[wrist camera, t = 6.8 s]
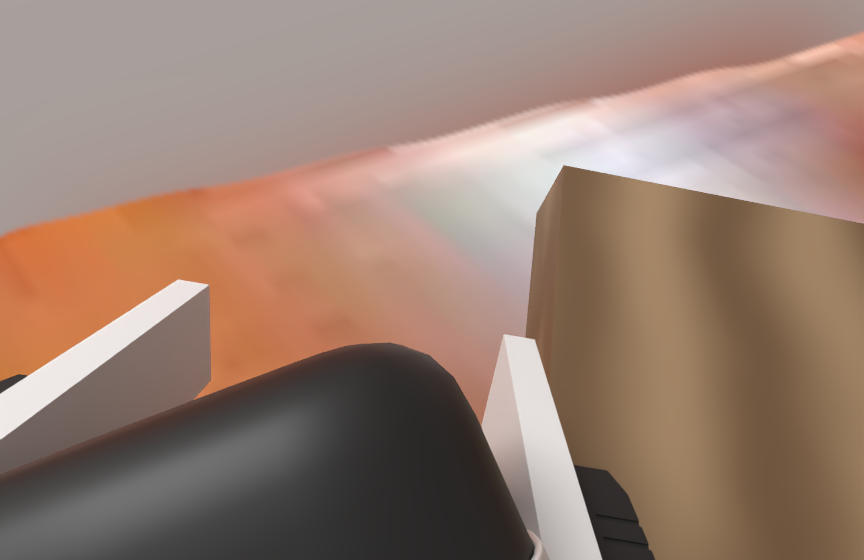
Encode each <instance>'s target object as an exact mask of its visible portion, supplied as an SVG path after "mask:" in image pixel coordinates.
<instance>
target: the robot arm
mask: <svg viewBox="0 0 864 560" xmlns="http://www.w3.org/2000/svg"><path fill="white" fill-rule="evenodd" d="M210 381H211V350H210V298H209V285H207V284H201V283H195V282H189V281H183V280H177V281H175V282H174V283H172V284H171V285H169V286H167V287H166V288H164V289H163V290H161V291H160V292H158V293H157V294H155V295H153V296H152V297H150V298H149V299H147V300H146V301H144V302H142V303H141V304H139V305H138V306H136V307H135V308H133V309H132V310H130V311H128V312H127V313H125V314H124V315H122V316H121V317H119V318H118V319H116V320H114V321H113V322H111V323H110V324H108V325H107V326H105V327H104V328H102V329H100V330H99V331H97V332H96V333H94V334H93V335H91V336H89V337H88V338H86V339H85V340H83V341H82V342H80V343H79V344H77V345H75V346H74V347H72V348H71V349H69V350H68V351H66V352H65V353H63V354H61V355H60V356H58V357H57V358H55V359H54V360H52V361H51V362H49V363H47V364H46V365H44V366H43V367H41V368H40V369H38V370H36V371H35V372H33V373H32V374H30V375H29V376H26V375H20V374H18V375H16V376H13V377H10V378H8V379H5V380H2V381H0V474H2V473H4V472H7V471H9V470H12V469H14V468H17V467H20V466H22V465H25V464H27V463H30V462H33V461H35V460H38V459H40V458H43V457H46V456H48V455H51V454H53V453H56V452H59V451H61V450H64V449H66V448H69V447H72V446H74V445H77V444H79V443H82V442H84V441H87V440H90V439H92V438H95V437H97V436H100V435H103V434H105V433H108V432H110V431H113V430H116V429H118V428H121V427H124V426H126V425H129V424H132V423H134V422H137V421H140V420H142V419H145V418H148V417H150V416H153V415H156V414H158V413H161V412H164V411H166V410H169V409H172V408H174V407H177V406H180V405H182V404H185V403H188V402H190V401H193V400H194V399H195V397H196V396H197V395H198V394H199V393H200V392H201V391H202V390H203V388H204V387H205V386H206V385H207V384H208V383H209V382H210ZM482 431H483V433H484V435H485V437H486V440H487V442H488V444H489V446H490V449H491V451H492V453H493V455H494V458H495V460H496V462H497V464H498V467H499V469H500V471H501V473H502V476H503V478H504V480H505V482H506V485H507V487H508V489H509V491H510V494H511V496H512V498H513V500H514V502H515V505H516V507H517V509H518V511H519V514H520V516H521V518H522V520H523V523H524V525H525V527H526V529H528V530H530V531H532V532H534V534H535V535H536V536H537V537H538V538H539V539H540V540H541V542H542V544H543V545H544V548H545V550H546V552H547V554H548V556H549V559H550V560H655V557H654V555H653V553H652V550H649V543H648V541H647V538H646V536H645V534H644V531H643V529H642V527H640V526H639V520H638V517H637V515H636V512H635V510H634V508H633V505H632V503H631V501H630V498H629V496H628V494H627V493H626V492H625V491H624V489H623V488H622V487H621V486H620V485H619V483H618V482H617V481H616V480H615V479H614V478H613V476H612V475H611V474H610V473H609V472H608V471H607V470H601V469H595V468H590V467H584V466H578V465H573V463H572V459H571V456H570V453H569V450H568V446H567V443H566V440H565V437H564V433H563V430H562V427H561V424H560V420H559V417H558V414H557V411H556V407H555V404H554V401H553V398H552V394H551V391H550V388H549V385H548V381H547V378H546V375H545V372H544V368H543V365H542V362H541V359H540V355H539V352H538V349H537V346H536V342H535V339H529V338H523V337H517V336H511V335H505V334H504V335H503V339H502V344H501V348H500V352H499V356H498V360H497V364H496V368H495V372H494V377H493V381H492V385H491V389H490V393H489V397H488V401H487V405H486V410H485V414H484V418H483V422H482Z"/></svg>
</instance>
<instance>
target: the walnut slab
mask: <svg viewBox="0 0 864 560" xmlns="http://www.w3.org/2000/svg"><path fill="white" fill-rule="evenodd" d="M525 338H529V339H535V342H536V346H537V349H538V352H539V355H540V359H541V362H542V365H543V368H544V372H545V375H546V378H547V381H548V385H549V388H550V391H551V394H552V398H553V401H554V404H555V407H556V411H557V414H558V417H559V420H560V424H561V427H562V430H563V433H564V437H565V440H566V443H567V446H568V450H569V453H570V456H571V459H572V463H573V465H578V466H584V467H590V468H595V469H601V470H607V471H608V472H609V473H610V474H611V475H612V476H613V478H614V479H615V480H616V481H617V482H618V483H619V485H620V486H621V487H622V488H623V489H624V491H625V492H626V493H627V494H628V496H629V498H630V501H631V503H632V505H633V508H634V510H635V512H636V515H637V517H638V520H639V526H640V527H642V529H643V531H644V534H645V536H646V538H647V541H648V543H649V550H652V553H653V555H654V557H655V560H864V224H862V223H856V222H851V221H846V220H841V219H836V218H831V217H826V216H821V215H815V214H810V213H805V212H800V211H795V210H790V209H785V208H780V207H774V206H769V205H764V204H759V203H754V202H749V201H744V200H739V199H734V198H728V197H723V196H718V195H713V194H708V193H703V192H698V191H693V190H687V189H682V188H677V187H672V186H667V185H662V184H657V183H652V182H646V181H641V180H636V179H631V178H626V177H621V176H616V175H611V174H606V173H600V172H595V171H590V170H585V169H580V168H575V167H570V166H565V165H564V166H563V168H562V169H561V171H560V173H559V175H558V176H557V178H556V180H555V182H554V184H553V185H552V187H551V189H550V191H549V193H548V194H547V196H546V198H545V200H544V201H543V203H542V205H541V207H540V209H539V210H538V212H537V216H536V227H535V238H534V249H533V260H532V271H531V282H530V293H529V304H528V315H527V326H526V337H525Z"/></svg>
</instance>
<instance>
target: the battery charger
mask: <svg viewBox="0 0 864 560" xmlns="http://www.w3.org/2000/svg"><path fill="white" fill-rule="evenodd" d="M0 560H550V559H549V556H548V554H547V552H546V550H545V548H544V545H543V544H542V542H541V540H540V539H539V538H538V537H537V536H536V535H535V534H534V532H532V531H530V530H528V529H526V527H525V525H524V523H523V520H522V518H521V516H520V514H519V511H518V509H517V507H516V505H515V502H514V500H513V498H512V496H511V494H510V491H509V489H508V487H507V485H506V482H505V480H504V478H503V476H502V473H501V471H500V469H499V467H498V464H497V462H496V460H495V458H494V455H493V453H492V451H491V449H490V446H489V444H488V442H487V440H486V437H485V435H484V433H483V431H482V428H481V426H480V424H479V422H478V419H477V417H476V415H475V413H474V411H473V410H472V408H471V406H470V404H469V403H468V401H467V399H466V398H465V396H464V394H463V392H462V391H461V389H460V387H459V385H458V384H457V382H456V380H455V378H454V377H453V376H452V375H451V374H450V373H448V372H447V371H446V370H445V369H444V368H443V367H442V366H441V365H440V364H438V363H437V362H436V361H435V360H434V359H433V358H432V357H431V356H430V355H427V354H424V353H422V352H419V351H416V350H413V349H411V348H408V347H405V346H402V345H398V344H393V343H373V344H357V345H350V346H344V347H341V348H337V349H334V350H330V351H327V352H323V353H320V354H317V355H314V356H312V357H309V358H306V359H303V360H300V361H298V362H295V363H292V364H289V365H287V366H284V367H281V368H279V369H276V370H273V371H271V372H268V373H265V374H263V375H260V376H257V377H255V378H252V379H249V380H247V381H244V382H241V383H239V384H236V385H233V386H230V387H228V388H225V389H222V390H220V391H217V392H214V393H212V394H209V395H206V396H204V397H201V398H198V399H196V400H193V401H190V402H188V403H185V404H182V405H180V406H177V407H174V408H172V409H169V410H166V411H164V412H161V413H158V414H156V415H153V416H150V417H148V418H145V419H142V420H140V421H137V422H134V423H132V424H129V425H126V426H124V427H121V428H118V429H116V430H113V431H110V432H108V433H105V434H103V435H100V436H97V437H95V438H92V439H90V440H87V441H84V442H82V443H79V444H77V445H74V446H72V447H69V448H66V449H64V450H61V451H59V452H56V453H53V454H51V455H48V456H46V457H43V458H40V459H38V460H35V461H33V462H30V463H27V464H25V465H22V466H20V467H17V468H14V469H12V470H9V471H7V472H4V473H2V474H0Z"/></svg>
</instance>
